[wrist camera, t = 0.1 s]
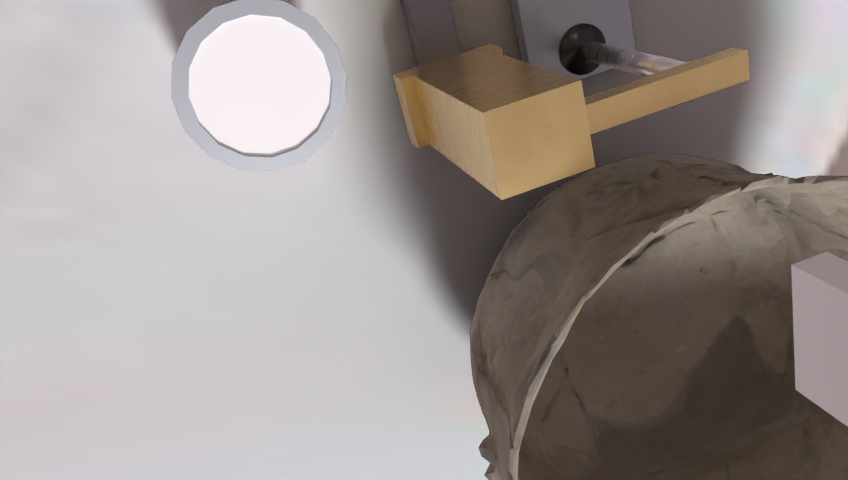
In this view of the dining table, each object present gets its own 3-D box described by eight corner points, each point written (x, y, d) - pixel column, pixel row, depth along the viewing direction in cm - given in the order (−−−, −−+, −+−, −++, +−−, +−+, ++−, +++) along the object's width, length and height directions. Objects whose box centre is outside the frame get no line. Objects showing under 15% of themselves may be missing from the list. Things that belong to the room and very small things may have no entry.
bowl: (801, 264, 51) (1025, 376, 38) (566, 497, 52) (702, 688, 39) (617, 15, 41) (829, 47, 28) (332, 307, 42) (406, 474, 29)
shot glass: (310, -18, 36) (338, -12, 30) (327, 126, 39) (356, 160, 33) (157, -5, 35) (153, 5, 29) (185, 145, 37) (187, 184, 31)
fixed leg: (392, 74, 38) (467, 117, 28) (613, 4, 40) (754, 22, 30) (410, 142, 39) (487, 205, 30) (622, 71, 41) (760, 108, 32)
